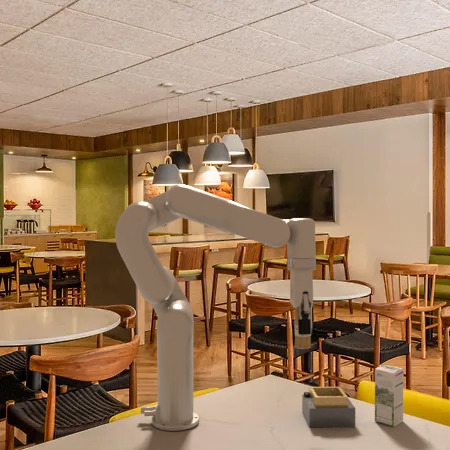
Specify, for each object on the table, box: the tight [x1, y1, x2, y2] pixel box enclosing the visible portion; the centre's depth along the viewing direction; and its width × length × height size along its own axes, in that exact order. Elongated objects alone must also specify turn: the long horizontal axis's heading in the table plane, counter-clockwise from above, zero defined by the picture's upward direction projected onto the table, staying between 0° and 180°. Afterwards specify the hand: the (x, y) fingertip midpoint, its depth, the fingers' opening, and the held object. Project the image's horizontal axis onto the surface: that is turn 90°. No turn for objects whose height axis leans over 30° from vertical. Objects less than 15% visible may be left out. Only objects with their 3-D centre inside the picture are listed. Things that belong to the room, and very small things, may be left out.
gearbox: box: [301, 386, 356, 429], centre depth 148 cm, size 12×11×8 cm
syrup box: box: [374, 364, 404, 428], centre depth 146 cm, size 6×6×14 cm
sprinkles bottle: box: [294, 301, 312, 350], centre depth 147 cm, size 5×5×14 cm
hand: (302, 331), depth 147 cm, fingers closed on sprinkles bottle, 4 cm apart
